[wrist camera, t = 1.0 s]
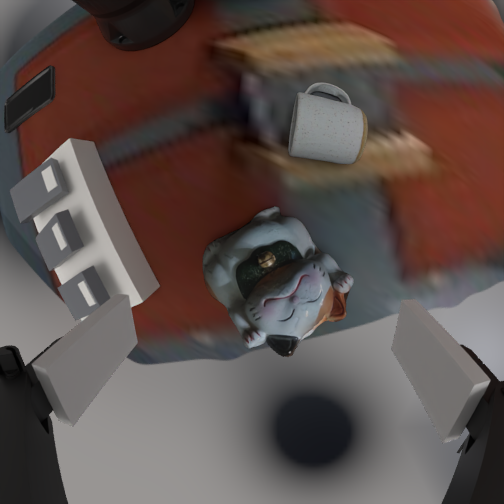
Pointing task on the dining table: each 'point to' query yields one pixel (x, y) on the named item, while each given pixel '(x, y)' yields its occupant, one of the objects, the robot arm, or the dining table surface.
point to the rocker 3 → (84, 293)
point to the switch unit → (98, 226)
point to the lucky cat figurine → (275, 281)
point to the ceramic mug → (327, 127)
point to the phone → (30, 99)
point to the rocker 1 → (39, 190)
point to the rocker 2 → (59, 240)
